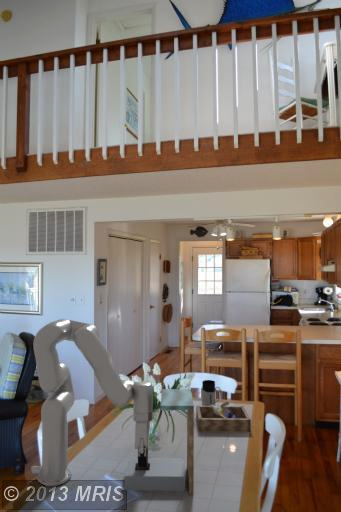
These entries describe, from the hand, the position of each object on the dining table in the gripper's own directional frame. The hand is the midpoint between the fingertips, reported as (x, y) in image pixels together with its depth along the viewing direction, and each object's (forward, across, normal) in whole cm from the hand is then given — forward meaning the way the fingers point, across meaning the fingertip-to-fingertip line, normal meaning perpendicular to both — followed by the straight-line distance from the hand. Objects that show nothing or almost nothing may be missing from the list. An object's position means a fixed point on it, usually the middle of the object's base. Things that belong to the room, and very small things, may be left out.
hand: (142, 463), depth 149 cm
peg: (+2, 0, 0) cm, 2 cm away
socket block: (+6, 0, +5) cm, 8 cm away
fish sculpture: (+7, -55, +41) cm, 69 cm away
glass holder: (+7, -79, +35) cm, 87 cm away
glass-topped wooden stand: (+6, 0, +13) cm, 14 cm away
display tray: (+6, -56, +38) cm, 68 cm away
